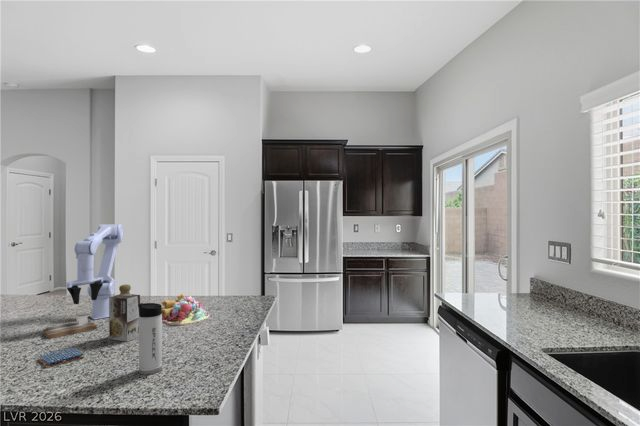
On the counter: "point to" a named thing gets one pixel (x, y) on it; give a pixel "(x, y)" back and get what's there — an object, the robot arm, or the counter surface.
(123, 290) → the cork
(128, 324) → the coffee box
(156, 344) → the travel mug
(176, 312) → the candy landscape model
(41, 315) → the counter surface
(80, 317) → the fader knob
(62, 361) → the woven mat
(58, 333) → the fader board
